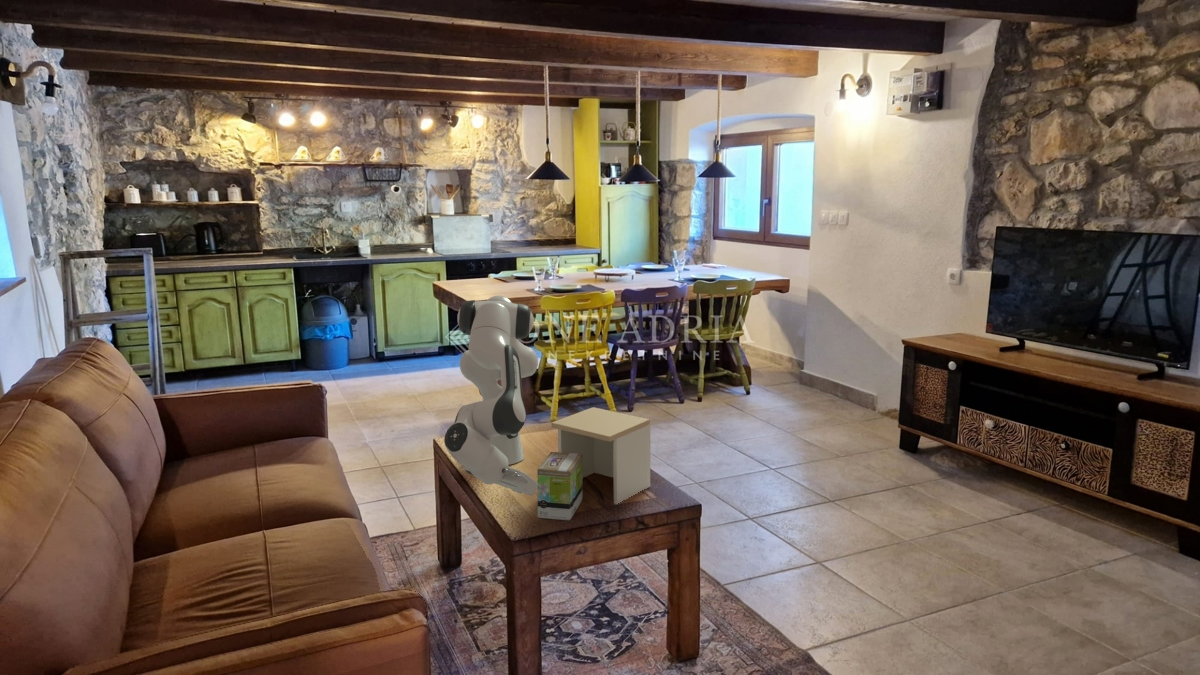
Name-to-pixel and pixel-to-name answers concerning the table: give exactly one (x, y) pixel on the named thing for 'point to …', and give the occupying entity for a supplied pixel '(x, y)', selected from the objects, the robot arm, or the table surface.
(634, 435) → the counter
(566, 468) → the tea box
